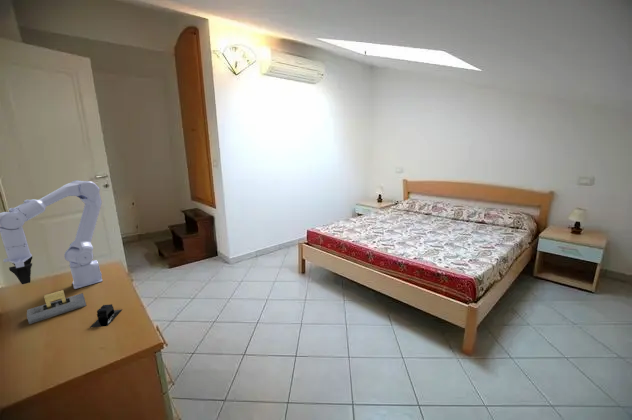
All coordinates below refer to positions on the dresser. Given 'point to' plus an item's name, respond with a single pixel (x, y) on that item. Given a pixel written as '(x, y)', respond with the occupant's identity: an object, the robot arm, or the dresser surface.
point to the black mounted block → (105, 315)
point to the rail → (55, 308)
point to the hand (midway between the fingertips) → (26, 279)
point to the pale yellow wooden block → (54, 298)
